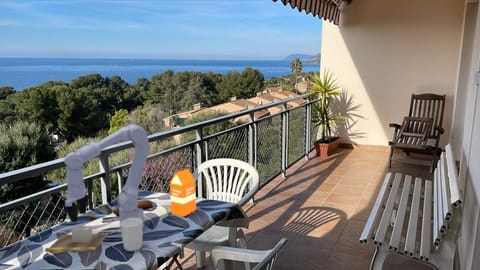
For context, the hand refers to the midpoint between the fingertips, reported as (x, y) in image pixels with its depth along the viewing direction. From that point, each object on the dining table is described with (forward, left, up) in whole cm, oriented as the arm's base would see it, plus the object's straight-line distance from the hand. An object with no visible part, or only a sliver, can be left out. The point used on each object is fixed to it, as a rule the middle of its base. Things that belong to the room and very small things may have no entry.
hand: (78, 217), depth 145 cm
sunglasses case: (-11, -32, -10) cm, 35 cm away
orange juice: (-36, -29, -10) cm, 47 cm away
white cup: (-22, +6, -10) cm, 25 cm away
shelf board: (0, +3, -9) cm, 10 cm away
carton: (-1, +1, -9) cm, 9 cm away
